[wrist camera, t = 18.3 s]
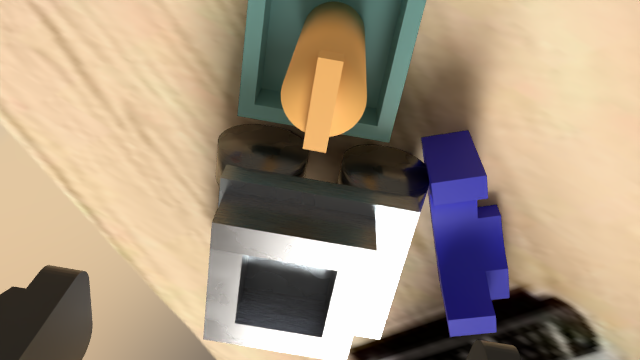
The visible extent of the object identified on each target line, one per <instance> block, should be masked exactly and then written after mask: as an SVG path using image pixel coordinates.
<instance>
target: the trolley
mask: <svg viewBox="0 0 640 360" xmlns="http://www.w3.org/2000/svg"><path fill="white" fill-rule="evenodd" d="M303 143H304V140H303V139H302V138H300V137H299V136H298V135H296V134H294V133H292V132H290V131H288V130H285V129H282V128H279V127H274V126H269V125H261V124H247V125H240V126H235V127H232V128H229V129H227V130H226V131H224V132H223V133H222V134H221V135H220V136H219V139H218V150H217V164H216V180H217V183H218V184H219V186H220V191H219V203H218V209H217V212H216V214H215V217H214V219H213V221H212V229H211V243H210V256H209V270H208V283H207V297H206V310H205V323H204V337H203V339H204V340H210V341H216V342H223V343H229V344H235V345H241V346H247V347H253V348H259V349H265V350H271V351H277V352H283V353H289V354H295V355H301V356H307V357H313V358H319V359H326V360H347V357H348V354H349V350H350V346H351V343H352V339H353V336H354V335H355V336H361V337H367V338H373V339H379V340H380V338H381V335H382V331H383V328H384V325H385V322H386V319H387V316H388V312H389V309H390V307H391V304H392V301H393V297H394V294H395V291H396V288H397V285H398V282H399V278H400V275H401V271H402V268H403V265H404V262H405V259H406V256H407V252H408V249H409V246H410V243H411V240H412V237H413V234H414V230H415V227H416V224H417V221H418V218H419V215H420V212H421V209H422V206H423V203H424V200H425V197H426V193H427V190H428V187H429V178H428V174H427V169H426V165H425V164H424V163H423V162H422V161H421V160H419V159H418V158H416V157H415V156H413V155H411V154H409V153H407V152H404V151H402V150H399V149H396V148H392V147H388V146H382V145H360V146H356V147H353V148H351V149H349V150H347V151H346V152H345V153H344V155H343V159H342V164H341V169H340V173H339V178H338V183H337V184H336V183H330V182H324V181H318V180H313V179H307V178H304V177H305V171H306V165H307V160H308V154H309V150H307V149H303Z"/></svg>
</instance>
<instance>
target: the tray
mask: <svg viewBox="0 0 640 360" xmlns="http://www.w3.org/2000/svg"><path fill="white" fill-rule="evenodd" d="M326 2H341V3H345V4H347V5H349V6H351V7H352V8H353V9H355V10H356V11H357V13H358V14H359V15H360V17H361V19H362V21H363V24H364V28H365V52H366V85H367V102H366V107H365V110H364V113H363V115H362V117H361V118H360V120H359V121H358V122H357V123H356V124H355V125H354V126H353V127H352V128H351V129H349V130H348V131H346V132H344V133H342V135H348V136H354V137H359V138H365V139H371V140H376V141H382V142H388V143H389V142H390V138H391V134H392V130H393V126H394V122H395V119H396V115H397V111H398V107H399V103H400V99H401V95H402V92H403V88H404V84H405V80H406V76H407V72H408V68H409V65H410V61H411V57H412V53H413V49H414V45H415V41H416V38H417V34H418V30H419V26H420V22H421V18H422V14H423V11H424V7H425V3H426V0H248V8H247V19H246V29H245V40H244V51H243V62H242V72H241V83H240V94H239V105H238V115H237V116H241V117H247V118H252V119H258V120H264V121H269V122H275V123H280V124H286V125H292V126H295V125H293V124H292V122H291V121H290V120H289V119H288V117H287V116H286V114H285V112H284V110H283V107H282V103H281V88H282V84H283V81H284V79H285V76H286V73H287V70H288V67H289V64H290V62H291V59H292V56H293V53H294V50H295V48H296V45H297V42H298V39H299V36H300V33H301V31H302V28H303V25H304V22H305V20H306V18H307V16H308V14H309V13H310V12H311V11H312V10H313V9H314V8H315V7H317V6H318V5H320V4H323V3H326Z"/></svg>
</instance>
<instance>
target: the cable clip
mask: <svg viewBox="0 0 640 360" xmlns="http://www.w3.org/2000/svg"><path fill="white" fill-rule="evenodd" d="M421 141H422V149H423V157H424V164H425V165H426V169H427V174H428V178H429V187H428V196H429V204H430V212H431V219H432V227H433V235H434V243H435V251H436V259H437V266H438V274H439V281H440V286H441V291H442V297H443V302H444V307H445V313H446V318H447V323H448V328H449V334H450V337H453V336H464V335H474V334H484V333H495V332H497V330H496V315H495V312H494V308H493V304H492V300H494V299H504V298H509V278H508V266H507V260H506V255H505V248H504V241H503V233H502V223H501V214H500V212H499V209H498V207H497V205H490V206H483V207H477V200H480V199H488V188H487V175H486V173H485V170H484V168H483V165H482V163H481V160H480V158H479V155H478V153H477V150H476V148H475V145H474V143H473V141H472V138H471V136H470V133H469V131H468V130H466V131H460V132H453V133H447V134H440V135H434V136H428V137H421Z"/></svg>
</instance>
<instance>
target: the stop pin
mask: <svg viewBox="0 0 640 360" xmlns="http://www.w3.org/2000/svg"><path fill="white" fill-rule="evenodd" d="M366 102H367V85H366V52H365V28H364V24H363V21H362V19H361V17H360V15H359V14H358V13H357V11H356V10H355V9H353V8H352V7H351V6H349V5H347V4H345V3H341V2H326V3H323V4H320V5H318V6H317V7H315V8H314V9H313V10H312V11H311V12H310V13H309V14H308V16H307V18H306V20H305V22H304V25H303V28H302V31H301V33H300V36H299V39H298V42H297V45H296V48H295V50H294V53H293V56H292V59H291V62H290V64H289V67H288V70H287V73H286V76H285V79H284V81H283V84H282V88H281V103H282V107H283V110H284V112H285V114H286V116H287V117H288V119H289V120H290V121H291V122H292V124H293V125H295V126H296V127H297V128H298V129H300V130H301V131H303V132H305V137H304V143H303V149H307V150H312V151H318V152H324V153H326V150H327V145H328V140H329V137H331V136H336V135H339V134H342V133H344V132H346V131H348V130H349V129H351V128H352V127H353V126H354V125H355V124H356V123H357V122H358V121H359V120H360V118H361V117H362V115H363V113H364V110H365V107H366Z"/></svg>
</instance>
